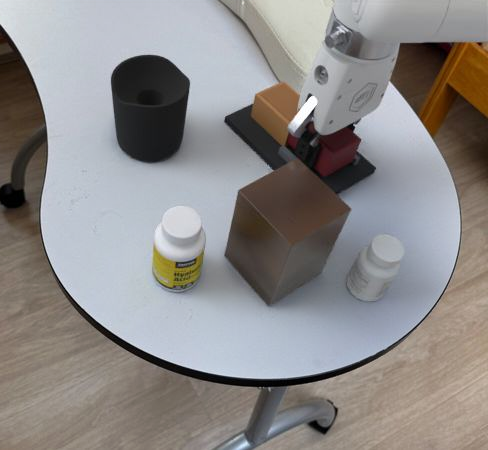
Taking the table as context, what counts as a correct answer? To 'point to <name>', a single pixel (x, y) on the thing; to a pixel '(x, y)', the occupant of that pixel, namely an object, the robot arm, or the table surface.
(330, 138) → the red lidded box
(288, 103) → the small orange-brown block
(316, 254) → the tall brown block
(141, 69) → the pen holder
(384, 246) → the pill bottle
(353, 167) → the base mat
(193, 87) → the table surface
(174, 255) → the supplement bottle
